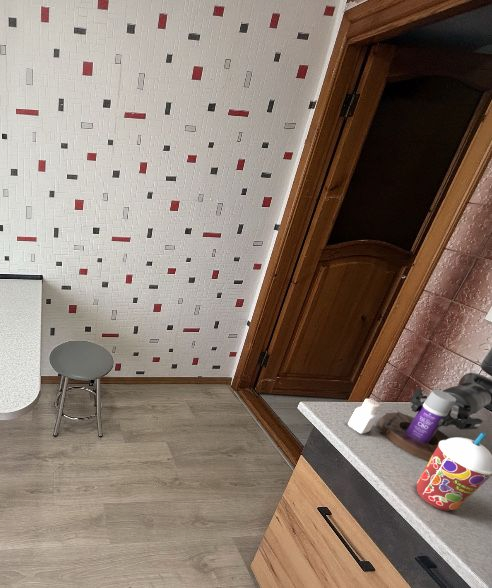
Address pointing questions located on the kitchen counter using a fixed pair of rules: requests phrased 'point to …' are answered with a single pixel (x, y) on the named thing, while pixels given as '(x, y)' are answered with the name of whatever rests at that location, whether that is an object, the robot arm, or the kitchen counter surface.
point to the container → (430, 416)
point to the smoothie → (455, 472)
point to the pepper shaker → (364, 416)
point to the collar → (393, 431)
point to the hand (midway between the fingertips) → (427, 415)
